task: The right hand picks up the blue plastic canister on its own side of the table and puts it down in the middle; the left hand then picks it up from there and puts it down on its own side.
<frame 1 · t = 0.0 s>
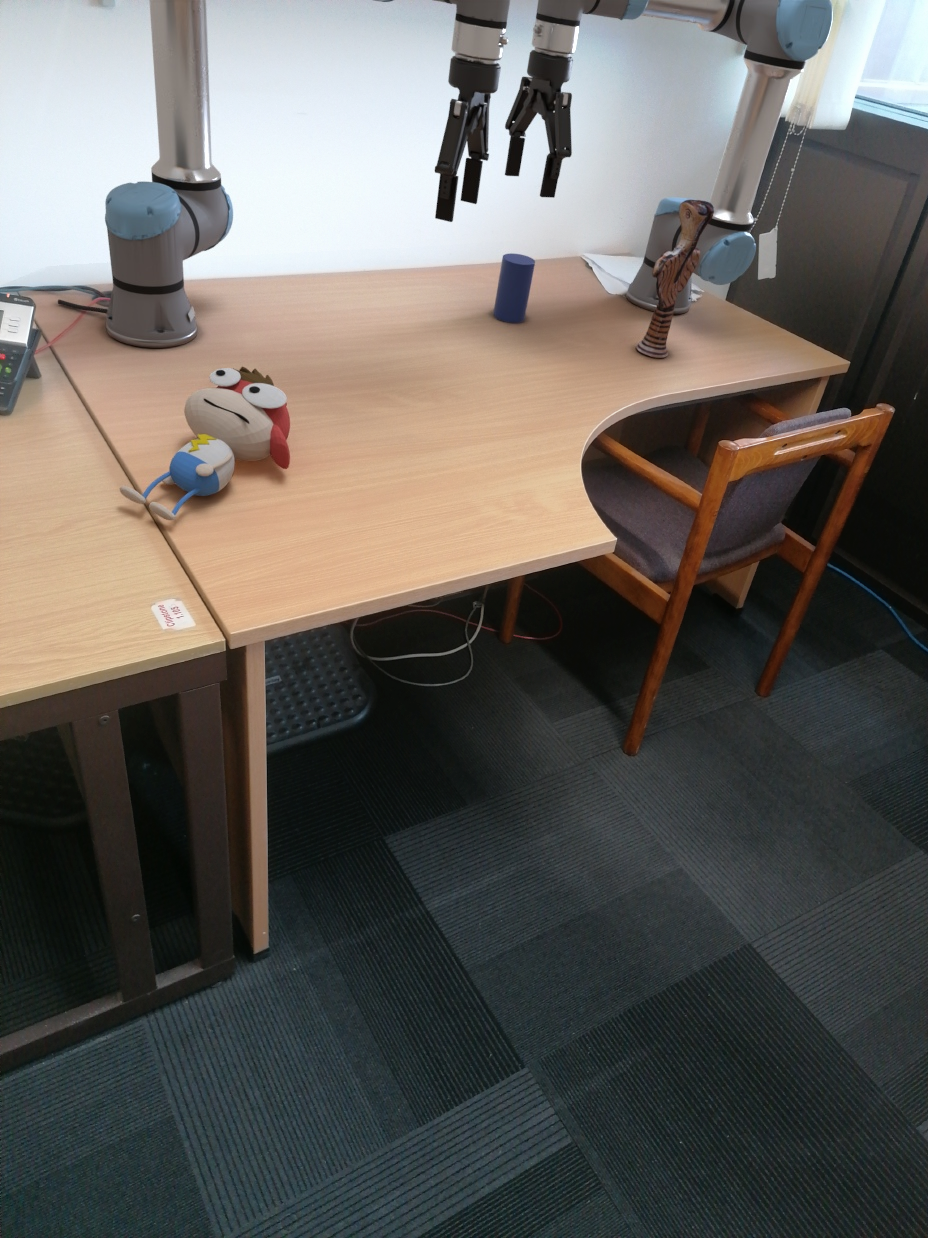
left hand: (456, 210, 144), 28 cm above the table, tool pointing down, fingers open, 13 cm apart
right hand: (528, 185, 164), 28 cm above the table, tool pointing down, fingers open, 13 cm apart
figurine: (653, 352, 185), on the table
toy: (215, 471, 125), on the table
canister: (508, 316, 189), on the table
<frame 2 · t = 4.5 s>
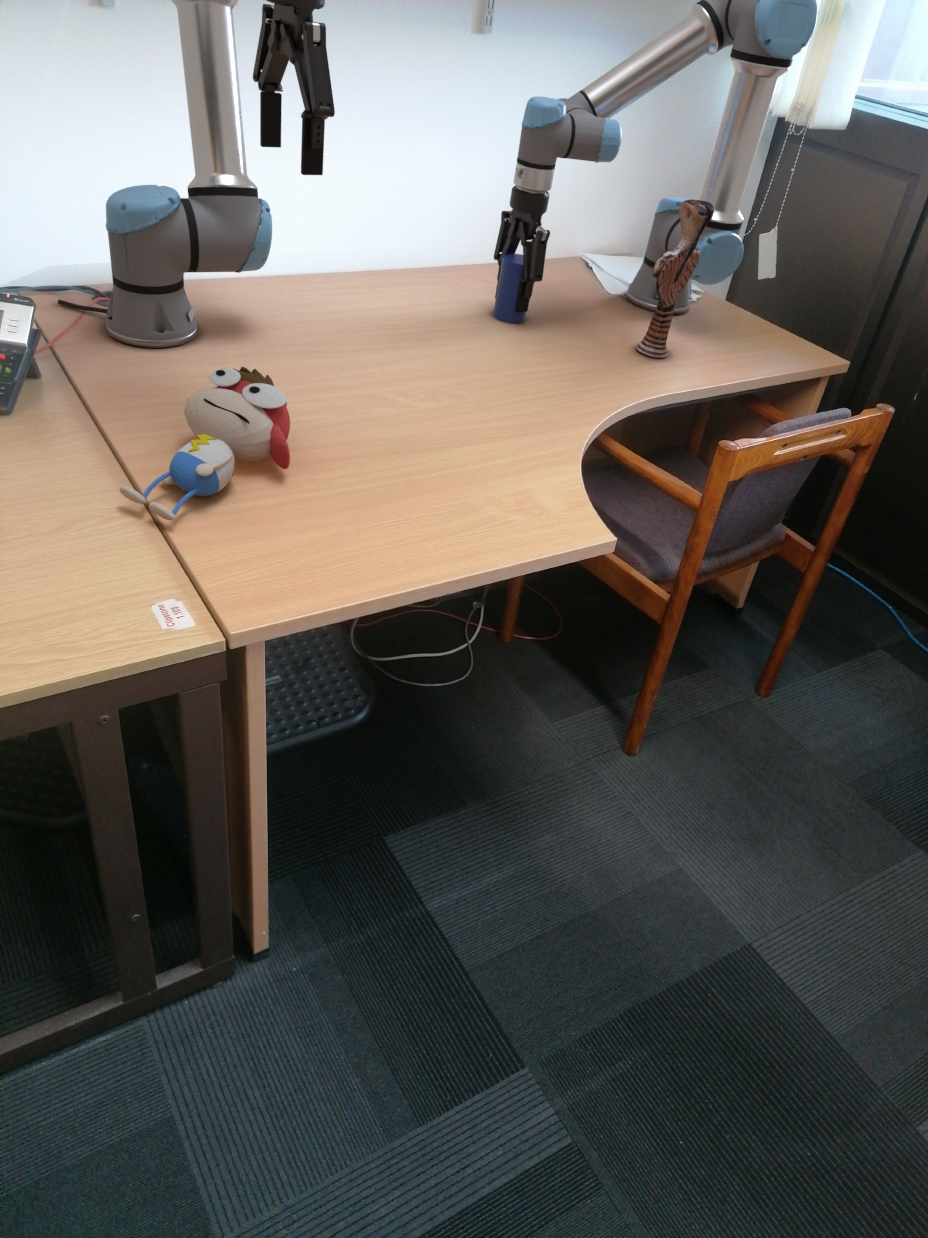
left hand: (290, 160, 119), 37 cm above the table, tool pointing down, fingers open, 13 cm apart
right hand: (510, 304, 188), 3 cm above the table, tool pointing down, fingers closed on canister, 7 cm apart
canister: (508, 316, 189), on the table, touching right hand
everything else where it was.
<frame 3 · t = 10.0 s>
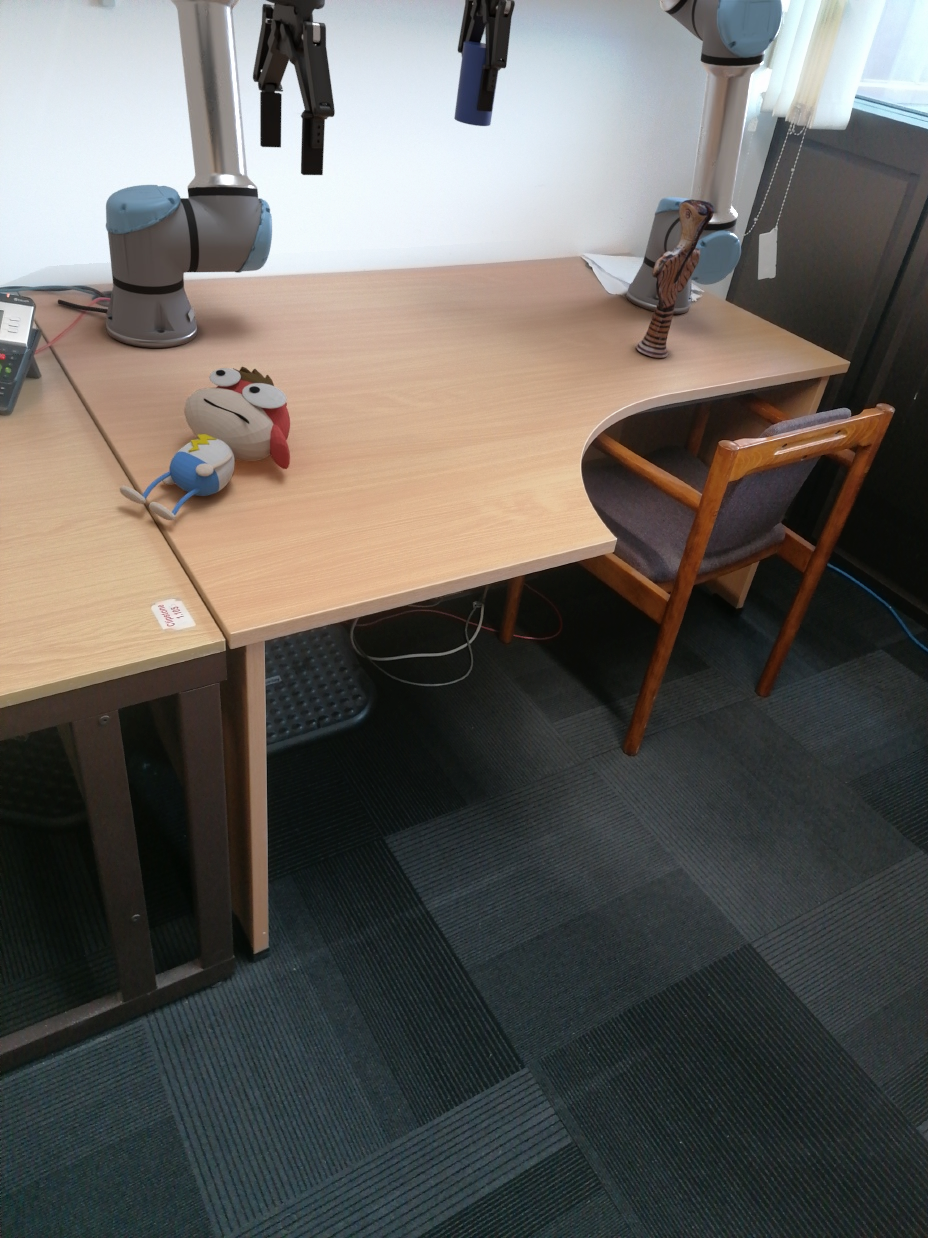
left hand: (290, 160, 119), 37 cm above the table, tool pointing down, fingers open, 13 cm apart
right hand: (474, 105, 163), 38 cm above the table, tool pointing down, fingers closed on canister, 7 cm apart
canister: (472, 121, 165), point 36 cm above the table, touching right hand
everything else where it was.
when the right hand's fingers open (4 cm above the table, at t = 15.7 s): canister drops 1 cm, on the table.
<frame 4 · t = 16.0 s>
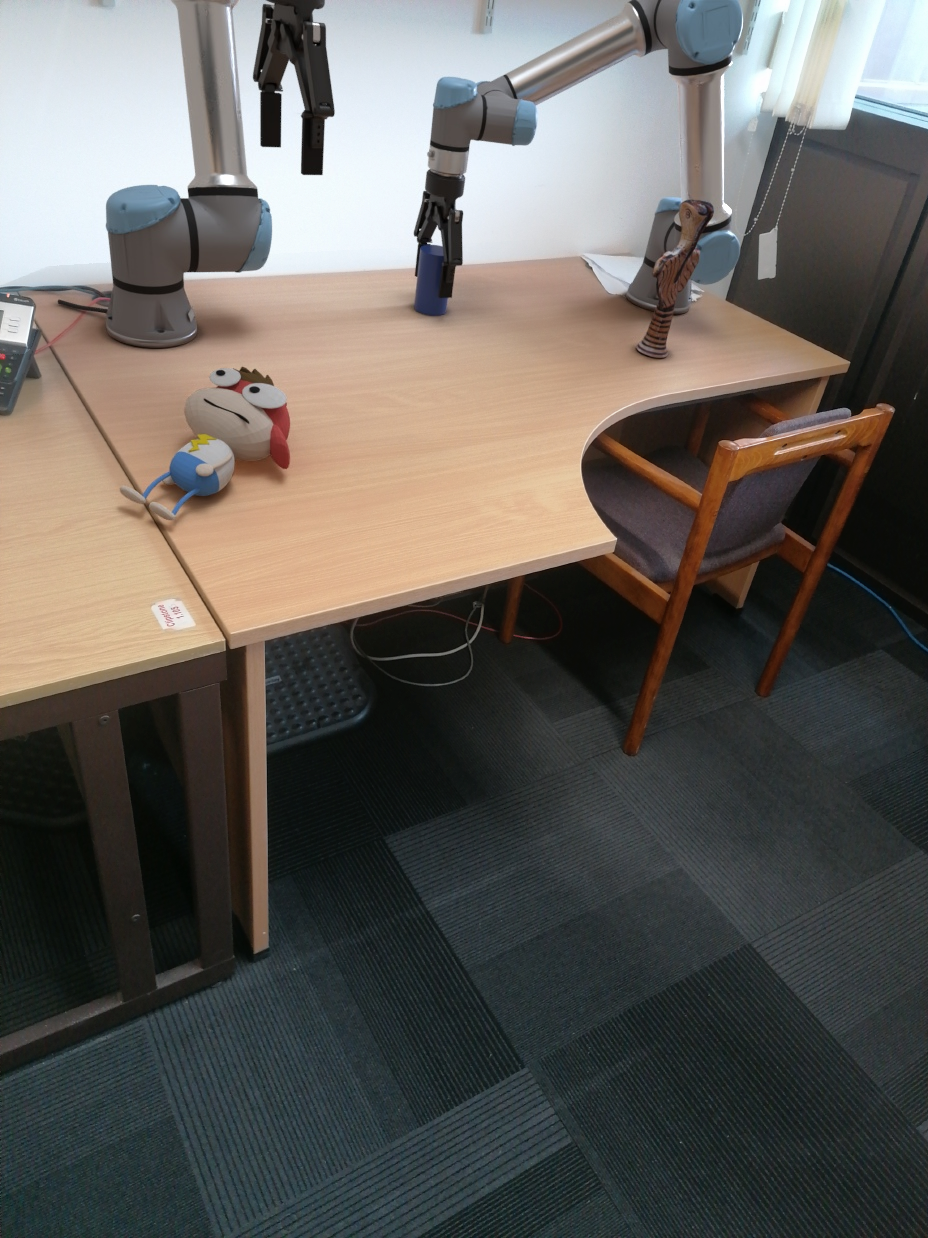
left hand: (290, 160, 119), 37 cm above the table, tool pointing down, fingers open, 13 cm apart
right hand: (432, 286, 183), 5 cm above the table, tool pointing down, fingers open, 11 cm apart
canister: (430, 309, 186), on the table
everything else where it was.
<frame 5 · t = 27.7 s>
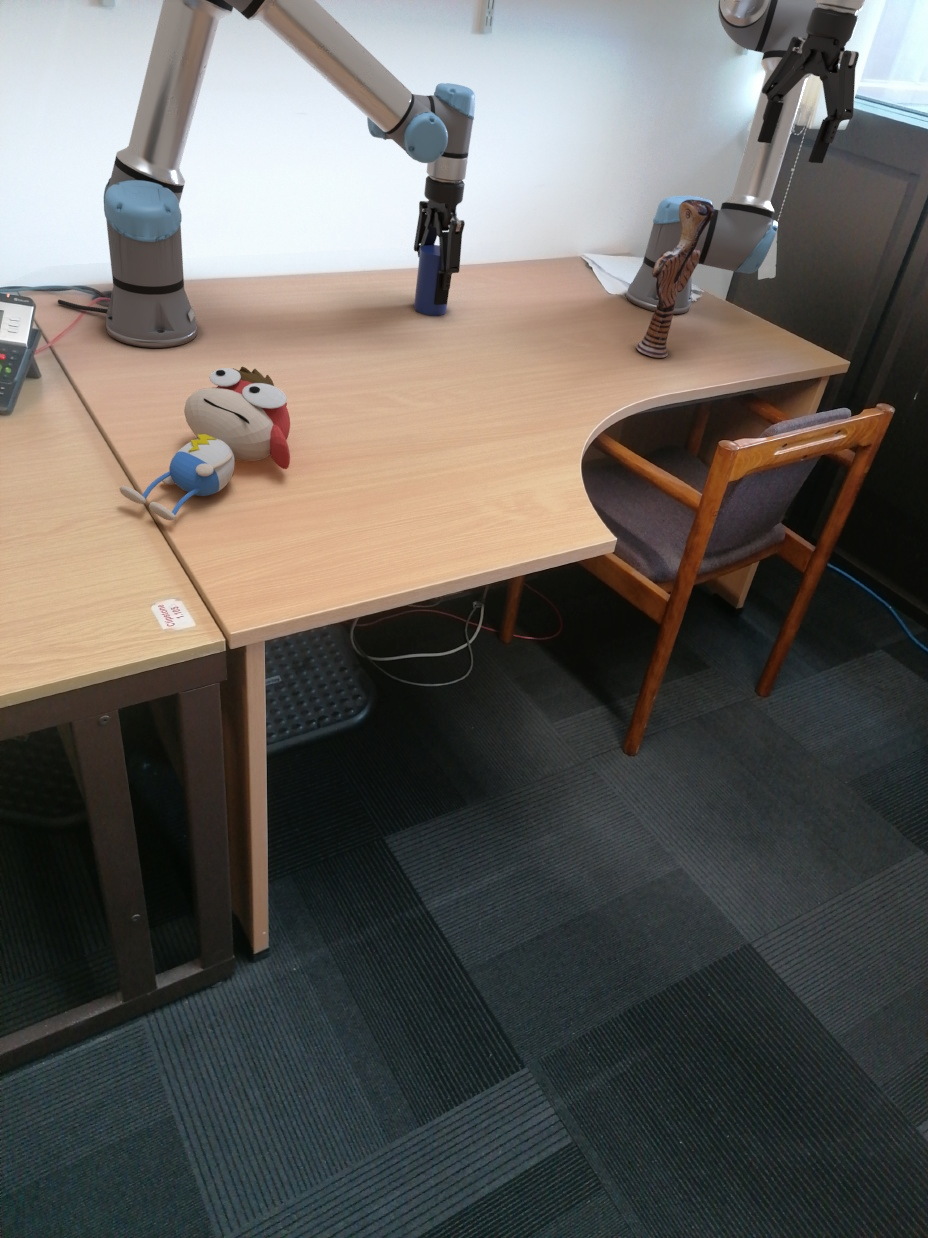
left hand: (431, 296, 185), 3 cm above the table, tool pointing down, fingers closed on canister, 7 cm apart
right hand: (788, 151, 158), 41 cm above the table, tool pointing down, fingers open, 13 cm apart
canister: (430, 309, 186), on the table, touching left hand
everything else where it was.
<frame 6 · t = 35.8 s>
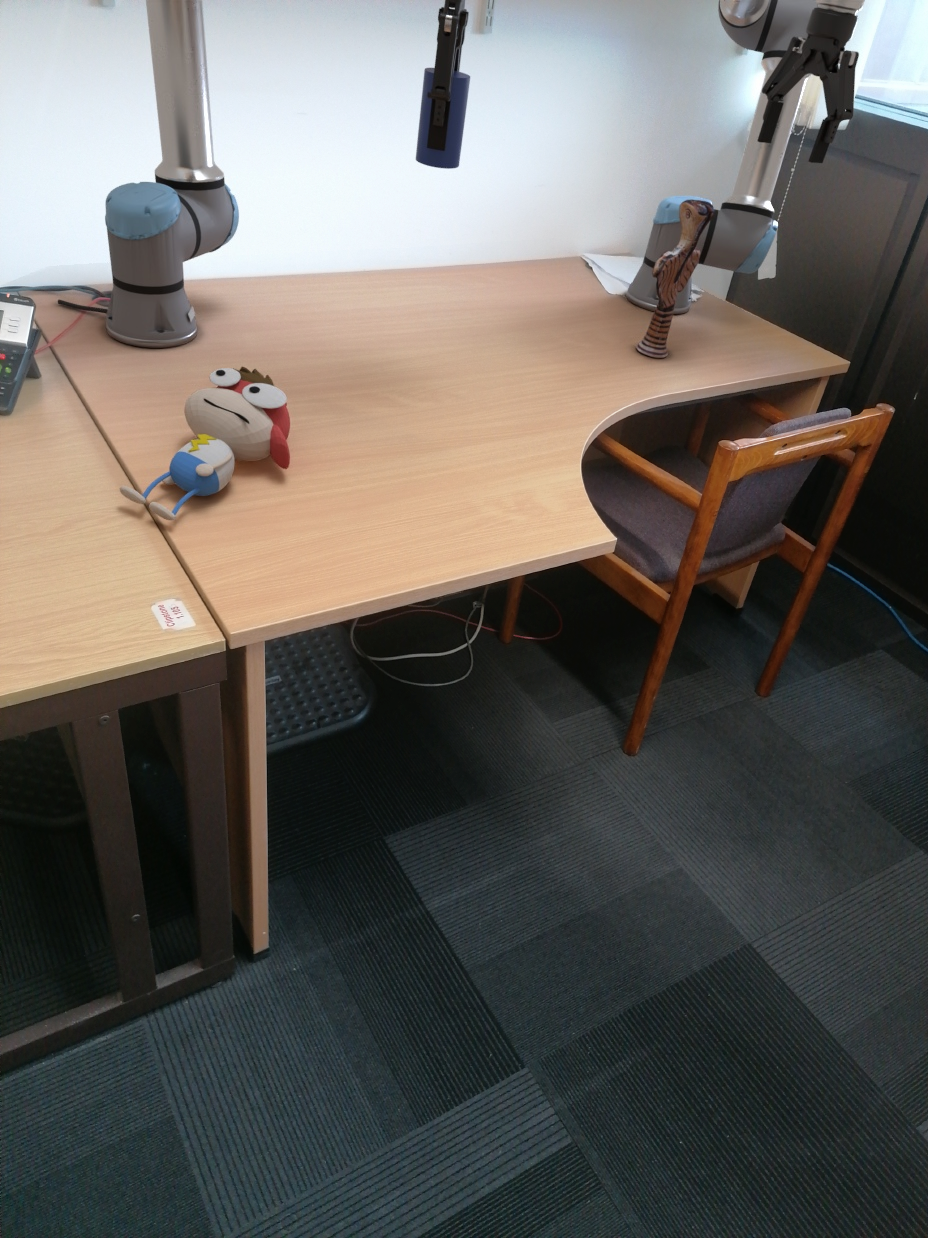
left hand: (438, 143, 136), 38 cm above the table, tool pointing down, fingers closed on canister, 7 cm apart
right hand: (788, 151, 158), 41 cm above the table, tool pointing down, fingers open, 13 cm apart
canister: (437, 162, 138), point 35 cm above the table, touching left hand
everything else where it was.
when the left hand's fingers open (4 cm above the table, at t = 44.1 s): canister drops 1 cm, on the table.
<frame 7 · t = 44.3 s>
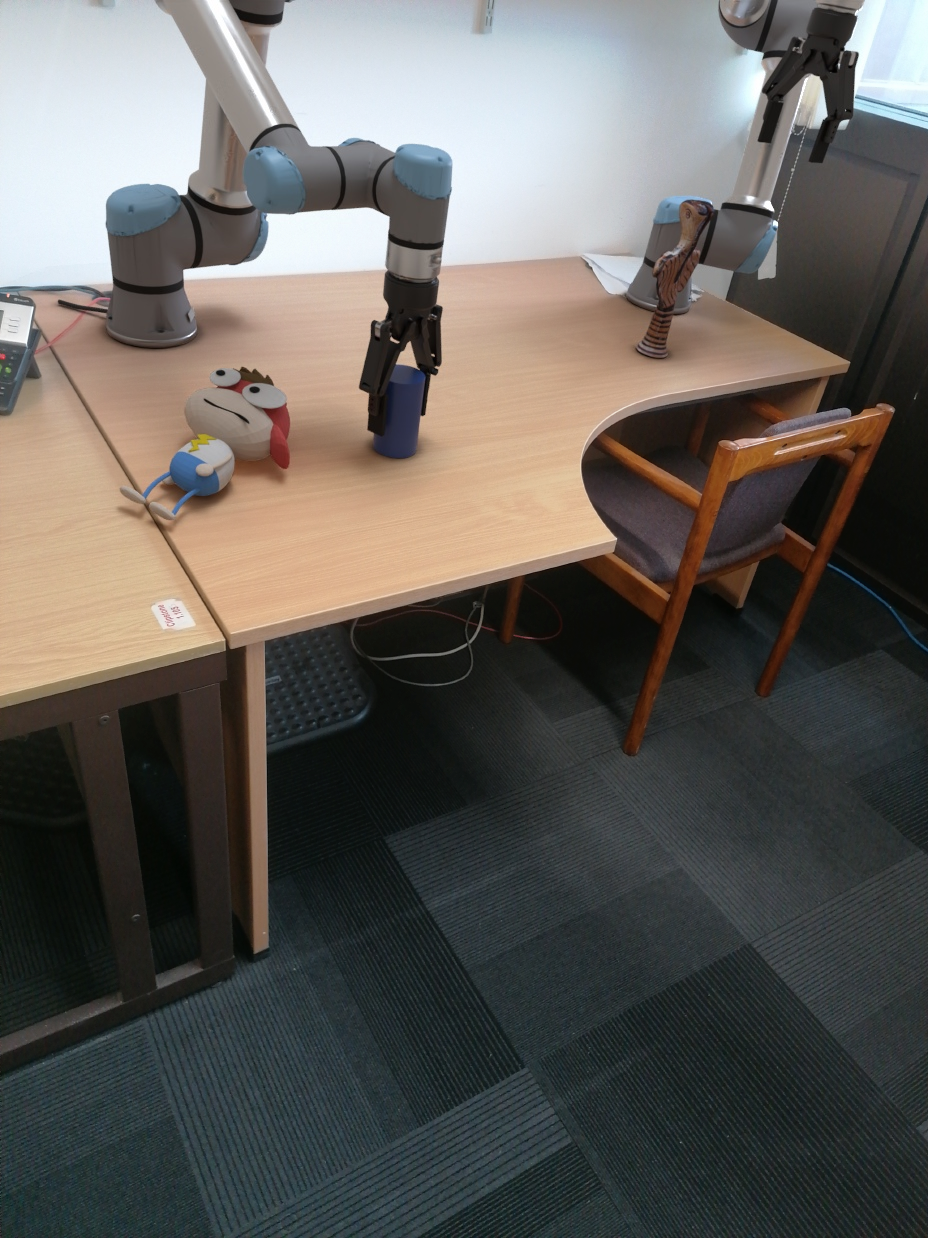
left hand: (396, 422, 135), 4 cm above the table, tool pointing down, fingers open, 9 cm apart
right hand: (788, 151, 158), 41 cm above the table, tool pointing down, fingers open, 13 cm apart
canister: (394, 447, 138), on the table
everything else where it was.
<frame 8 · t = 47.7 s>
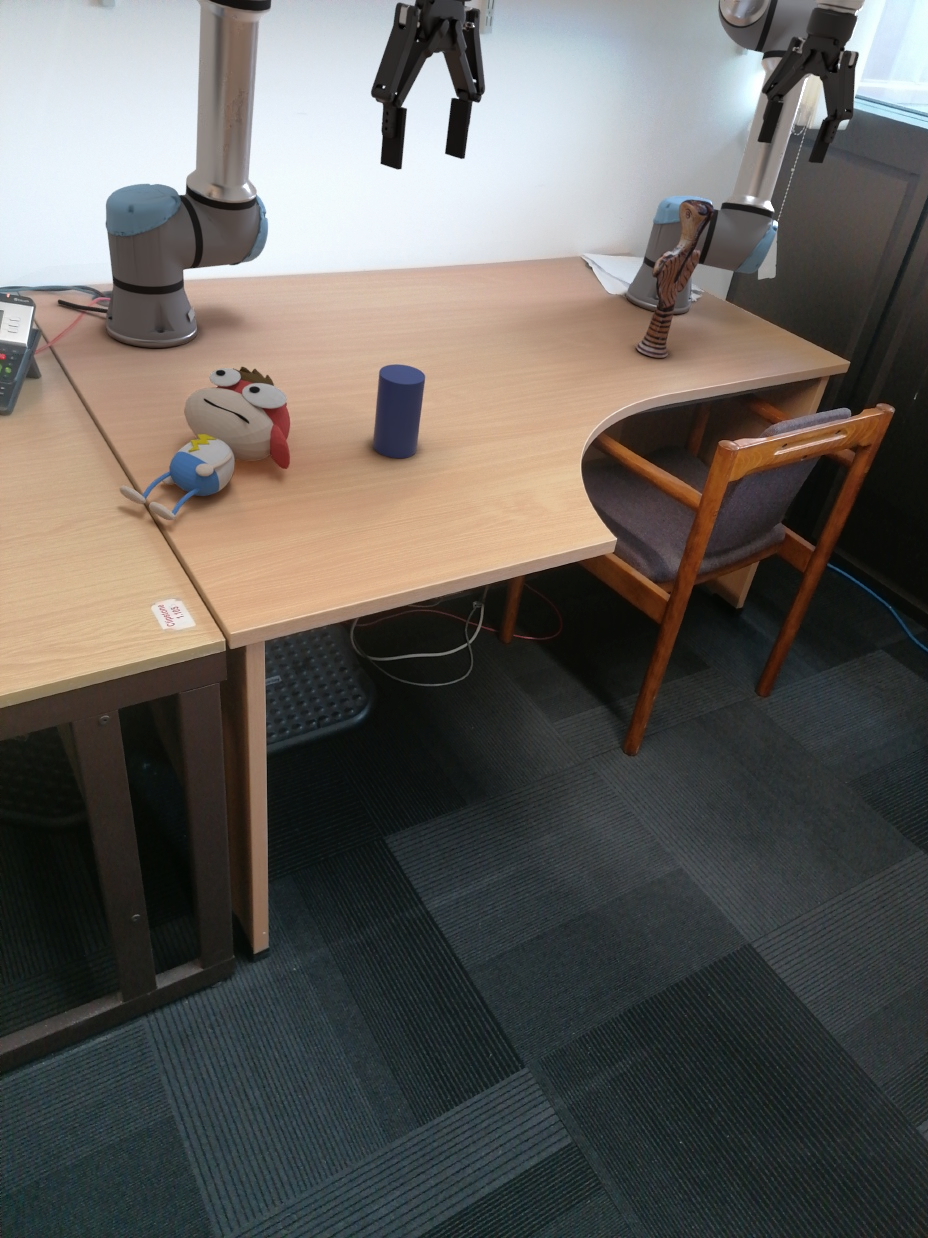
left hand: (424, 161, 112), 41 cm above the table, tool pointing down, fingers open, 13 cm apart
right hand: (788, 151, 158), 41 cm above the table, tool pointing down, fingers open, 13 cm apart
nothing on the table moved.
at the end: canister inside the target area (0.1 cm from its centre), on the table; canister tilted 0°; the two hands never held the canister at the same time; the left hand is holding nothing; the right hand is holding nothing; canister at rest at the end (0.0 cm/s) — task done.
